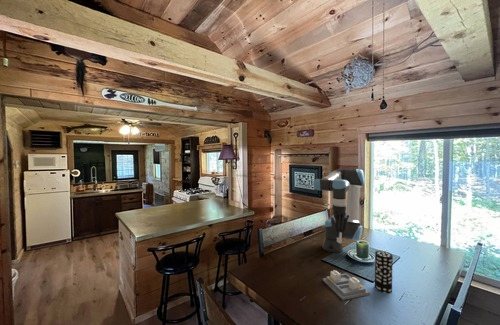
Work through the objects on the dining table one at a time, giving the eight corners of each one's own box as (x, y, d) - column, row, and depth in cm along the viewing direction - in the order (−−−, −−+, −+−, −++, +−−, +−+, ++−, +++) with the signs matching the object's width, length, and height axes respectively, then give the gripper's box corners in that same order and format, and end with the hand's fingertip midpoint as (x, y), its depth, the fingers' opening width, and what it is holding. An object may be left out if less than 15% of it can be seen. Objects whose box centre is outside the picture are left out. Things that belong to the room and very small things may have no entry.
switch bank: (347, 276, 135) (347, 271, 135) (369, 294, 118) (369, 289, 118) (322, 280, 131) (322, 275, 131) (342, 300, 114) (342, 294, 113)
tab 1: (336, 278, 130) (336, 269, 130) (340, 282, 126) (340, 272, 126) (330, 279, 129) (330, 270, 129) (334, 283, 125) (334, 273, 125)
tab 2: (354, 286, 123) (354, 276, 123) (360, 290, 119) (360, 280, 119) (348, 287, 122) (348, 277, 122) (353, 291, 118) (353, 281, 118)
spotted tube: (373, 283, 128) (374, 249, 127) (390, 286, 125) (390, 251, 124) (376, 291, 120) (376, 256, 119) (393, 295, 117) (394, 258, 116)
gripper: (344, 202, 138) (344, 238, 140) (326, 204, 135) (326, 241, 136) (352, 205, 131) (352, 243, 133) (333, 207, 127) (334, 246, 129)
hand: (339, 242), depth 135 cm, fingers closed
